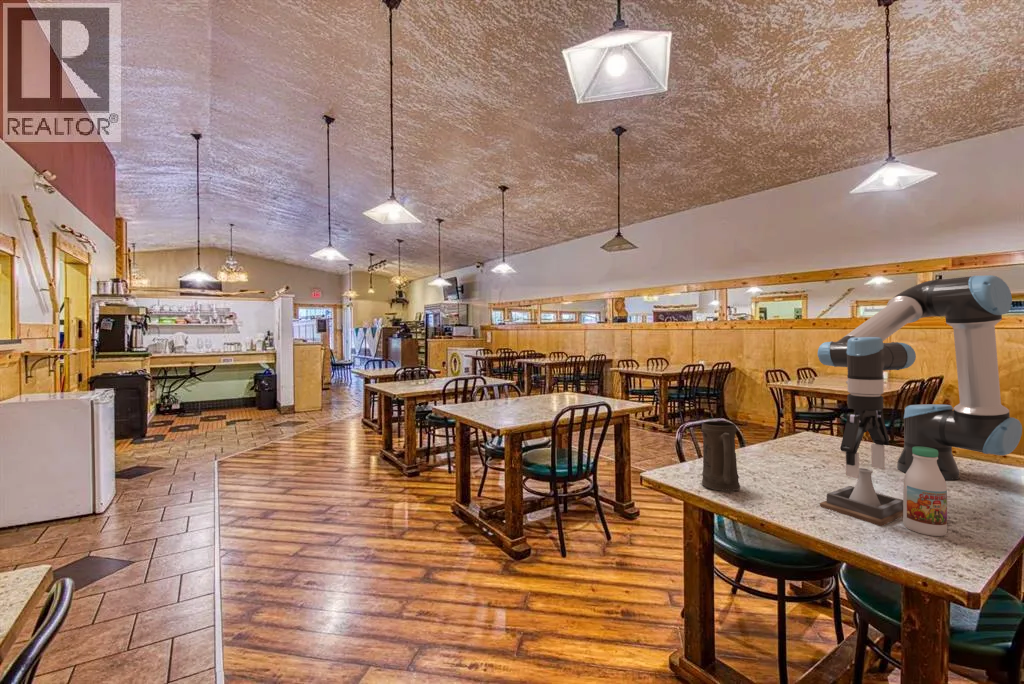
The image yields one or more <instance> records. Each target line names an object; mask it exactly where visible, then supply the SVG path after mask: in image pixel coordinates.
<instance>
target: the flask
mask: <svg viewBox="0 0 1024 684" xmlns="http://www.w3.org/2000/svg"><path fill="white" fill-rule="evenodd" d="M873 473H874V472H873V469H870V468H866V467H859V478H857V481H856V484H855V485H854V486H853V487H854V490H853V492H852V493H851V495H850V497H849V499H852V500H855V501H858V502H862V503H865V504H869V505H872V506H876V507H879V506H881V504H880V502H879V500H878V497H877V495H876V493H877V492H876V490H875V488H874V484H873V480H872V474H873Z"/></svg>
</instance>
